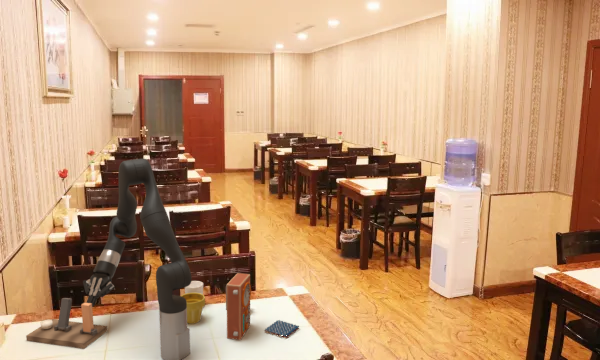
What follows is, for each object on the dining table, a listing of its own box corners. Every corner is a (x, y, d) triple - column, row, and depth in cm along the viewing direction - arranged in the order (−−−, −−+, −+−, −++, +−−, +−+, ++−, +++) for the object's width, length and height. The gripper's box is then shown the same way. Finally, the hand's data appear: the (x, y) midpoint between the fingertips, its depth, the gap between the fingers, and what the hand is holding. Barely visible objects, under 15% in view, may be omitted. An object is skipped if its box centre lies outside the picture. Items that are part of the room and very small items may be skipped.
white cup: (185, 310, 208) (184, 288, 207) (184, 303, 216) (184, 281, 214) (204, 309, 211) (203, 286, 209) (202, 301, 218) (202, 280, 216)
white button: (55, 325, 189) (54, 320, 188) (47, 329, 185) (47, 324, 184) (46, 323, 190) (45, 319, 189) (38, 328, 186) (38, 323, 185)
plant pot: (207, 323, 197) (207, 300, 195) (181, 327, 193) (180, 304, 192) (202, 313, 207) (202, 291, 205) (177, 316, 203) (176, 294, 201)
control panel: (253, 324, 197) (241, 342, 183) (236, 322, 199) (223, 340, 184) (253, 273, 194) (240, 287, 179) (236, 271, 195) (222, 285, 181)
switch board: (107, 330, 190) (107, 322, 189) (84, 348, 176) (83, 339, 176) (53, 323, 195) (52, 315, 194) (26, 340, 181) (25, 331, 181)
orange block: (94, 332, 184) (91, 303, 182) (90, 334, 182) (88, 305, 180) (86, 331, 185) (84, 302, 182) (83, 333, 183) (81, 304, 181)
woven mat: (277, 323, 200) (277, 318, 199) (300, 329, 194) (300, 325, 194) (262, 333, 191) (262, 328, 190) (286, 341, 185) (286, 335, 185)
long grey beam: (67, 329, 186) (72, 298, 188) (64, 330, 184) (68, 299, 186) (60, 328, 187) (65, 297, 188) (57, 329, 185) (61, 298, 186)
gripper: (87, 258, 191) (68, 300, 181) (118, 261, 188) (100, 305, 178) (97, 266, 197) (78, 308, 187) (126, 269, 194) (109, 312, 184)
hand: (89, 306), depth 183 cm, fingers closed
